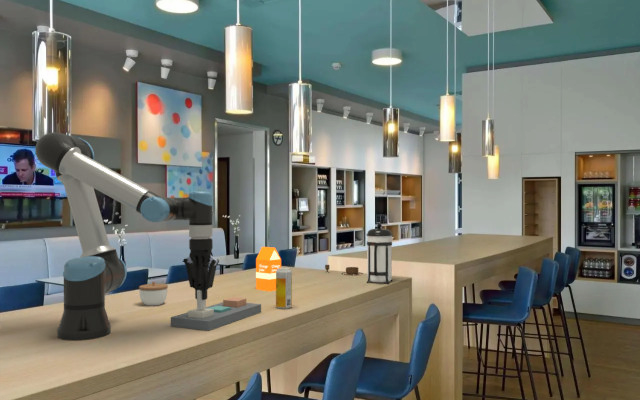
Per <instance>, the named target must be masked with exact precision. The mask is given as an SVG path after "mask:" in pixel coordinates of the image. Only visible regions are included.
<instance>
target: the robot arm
mask: <svg viewBox="0 0 640 400" xmlns="http://www.w3.org/2000/svg"><path fill="white" fill-rule="evenodd" d="M34 149H35V156H36V158H37V160H38V162H39V163H40V164H42V166H45V167H46V168H49V169H50V170H53V171H54V175H55V176H56V180H57V181H59V182H61V183H62V184H63V187H64V190H65V194H66V198H67V200H68V204H69V207H70V211H71V215H72V219H73V222H74V225H75V226H74V227H75V229H76V232H77V237H78V240H79V243H80V247H81V249H82V253H81V255H80V257H76V258H75V257H74V258H72V259H69V260H67V261H66V262H65V264H64V267H63V272H62V273H63V274H62V275H63V276H62V277H63V312H62V315H61V319H60V321H59V326H58V327H57V330H56V332H57V336H56V337H57V338H58V339H60V340H64V341H85V340H93V339H97V338H98V339H99V338H102V337H106V336H108V335H109V334H111V331H112V325H111V323H110V322H109V317H108V313H107V310H106V308H105V307H106V305H105V304H106V301H105V300H106V294H108V293H113V292H115V291H116V290H117V289H118V288H120V287H121V286H122V285H123V284H124V282H125V280H126V278H127V273H128V269H127V265H126V263H125V262H124V260H123V259H121V258H119V255H118V252H117V249H116V248H115V247H114V246H111V245H110V241H109V237H108V234H107V232H106V231H107V230H106V228H105V224H104V220H103V217H102V213H101V211H100V206H99V203H98V199H97V196H96V193H95V190H96V191H98V192H100V193H102V194H104V195H106V196H108V197H110V198H112V199H113V200H115V201H116V202H118V203H120V204H122V205H124V206H126V207H128V208H130V209H132V210H134V211H135V212H137V213H139V214H140V215H141V216H142V218H143V219H144V220H146V221H148V222H151V223H160V222H169V221H188V222H189V223H188V226H189V227H188V229H189V230H188V237H189V238H190V239H189V241H188V242H189V245H188V246H189V247H188V248H189V250H190V252H189V256H188V257H187V258H184V259H183V263H184V265H185V268H186V273H187V277H188V284H189V287H190V288H192V289H194V290H195V291H194V294H195V296H194V298H195V300H196V309H197V310H203V309H206V307H207V305H206V304H207V301H206V300H207V299H208V290H209V289H212V288H213V286H214V281H215V276H216V275H215V274H216V270H217V266H218V264H219V263H220V260H219V259H218V258H217V259H216V258H215V257H214V254H213V251H212V250H213V243H214V242H213V239H212V236H213V205H214V204H213V196H212V193H211V192H210V191H202V190H201V191H199V190H197V191H190V192H189V193H188V196H187V197H165V196H164V197H162V196H160V195H158V194H156V193H155V192H152V191H150V190H149V189H148V188H146V187H144V186H141V185H140V184H138V183H136V182H135V181H132V180H131V179H129V178H127V177H125V176H124V175H122V174H121V173H118V172H117V171H114V170H113V169H111V168H109V167H107V166H105V165H103V164H101V163H100V162H98V161H96V160H95V153H94V151H95V150H94V149H93V146H92V145H91V144H90V143H89V142H88V141H86V140H85V139H83V138H81V137H79V136H75V135H69V134H66V133H62V132H54V131H53V132H49V133H45V134H44V135H42V136H41V137H40V138H39V139H38V140H37V142H36V145H35V148H34Z"/></svg>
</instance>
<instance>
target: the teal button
mask: <svg viewBox="0 0 640 400" xmlns="http://www.w3.org/2000/svg"><path fill="white" fill-rule="evenodd" d="M207 309H214V312H218V313H222V312H225V311H228V310H231V307H224V306H214V307H211V308H207Z"/></svg>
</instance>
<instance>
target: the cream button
mask: <svg viewBox="0 0 640 400" xmlns="http://www.w3.org/2000/svg"><path fill="white" fill-rule="evenodd" d="M187 312H188V317H194V318H206V317H209V316H212V315H214V309H203V310H197V308H194V309H191V310H190V309H189V310H187Z"/></svg>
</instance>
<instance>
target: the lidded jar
mask: <svg viewBox="0 0 640 400" xmlns="http://www.w3.org/2000/svg"><path fill="white" fill-rule="evenodd" d="M168 287H169V286H168V284H165V283H156V281H151V283H147V284H142V285H139V286H138V289H139V298H140V301H141V302H142V304H143V305H144V306H147V307H152V306H153V307H154V306H155V307H156V306H161V305H163V304H164V303H165V301H166V299H167V298H168V297H167V296H168Z"/></svg>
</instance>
